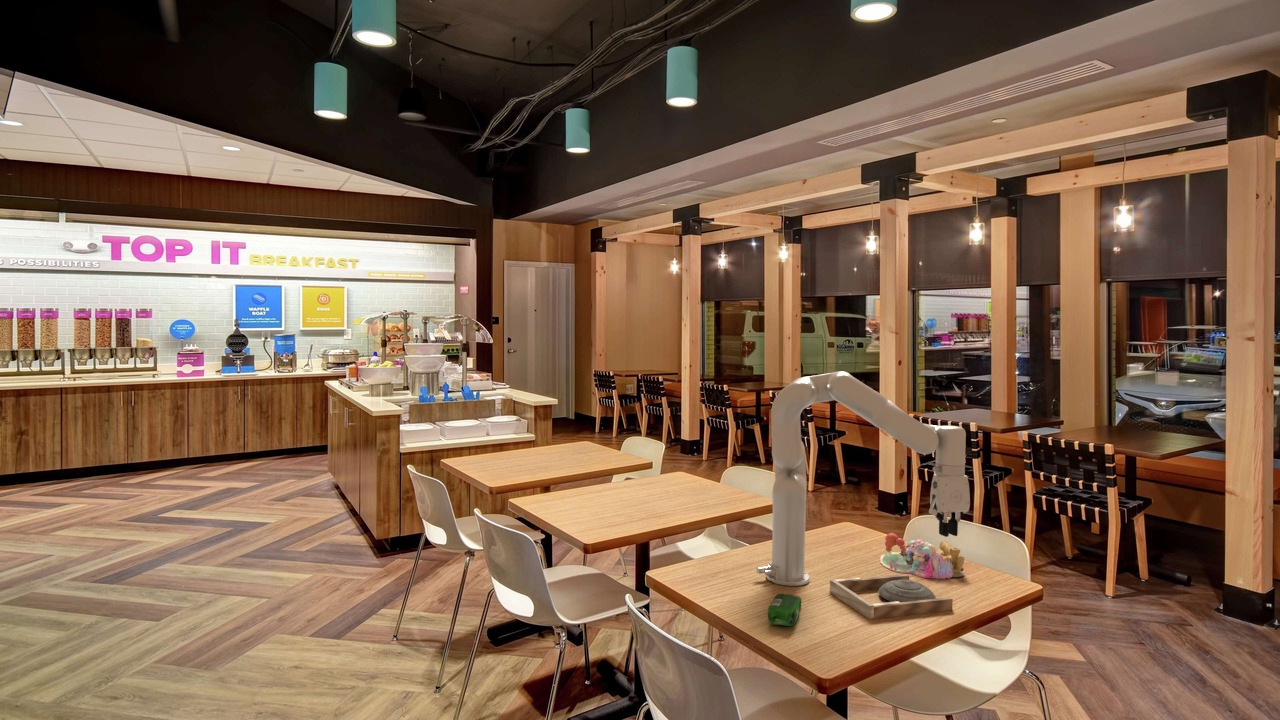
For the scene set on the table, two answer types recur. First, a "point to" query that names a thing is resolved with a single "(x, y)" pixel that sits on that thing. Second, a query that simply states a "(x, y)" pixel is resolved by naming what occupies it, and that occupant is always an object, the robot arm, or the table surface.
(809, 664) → the table surface
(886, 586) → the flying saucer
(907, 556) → the candy landscape model
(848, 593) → the bay
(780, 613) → the snack package
